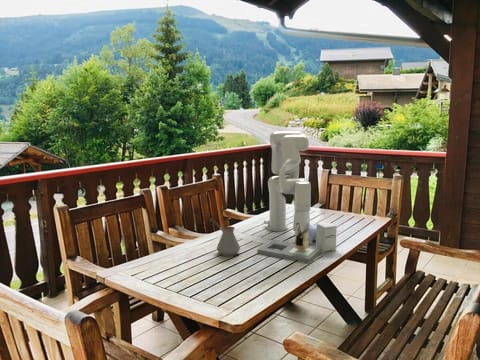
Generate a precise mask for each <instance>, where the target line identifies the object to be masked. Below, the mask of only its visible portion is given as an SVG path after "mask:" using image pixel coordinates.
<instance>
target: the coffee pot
mask: <svg viewBox="0 0 480 360" xmlns="http://www.w3.org/2000/svg"><path fill="white" fill-rule="evenodd" d="M215 220H216V219H214V218H212V217H211V218H210V221H211V222H213V223H214V225H215V226H216V227H217V228H218V229H220V231H221V232H222V234H221V236H220V239H219V241H218V244H217V246H216V250H217V252H218V253H219V254H220V255H221V256H223V257H224V256H225V257H231V256H235V255H236V254H237V253H238V252H239V251H240V249H241V247H240V245H239V241H238V240H237V237H236V235H235V233H234V230H235V227H234V226H223V227H221V225H220V224H219V223H218V222H216V221H215Z"/></svg>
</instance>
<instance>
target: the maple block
mask: <svg viewBox="0 0 480 360" xmlns="http://www.w3.org/2000/svg"><path fill="white" fill-rule="evenodd" d="M299 231H301V230H299ZM299 233H300V232H299ZM300 235H301V233H300ZM302 238H303V246H298V245H296V234H295V233H294V244H295V249H300V250H306V249H307V248H308V247H310V246H309V245H310V244H309V231H303V235H302Z"/></svg>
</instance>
